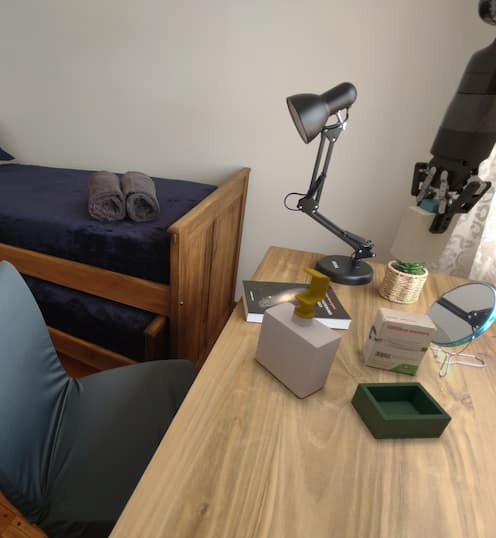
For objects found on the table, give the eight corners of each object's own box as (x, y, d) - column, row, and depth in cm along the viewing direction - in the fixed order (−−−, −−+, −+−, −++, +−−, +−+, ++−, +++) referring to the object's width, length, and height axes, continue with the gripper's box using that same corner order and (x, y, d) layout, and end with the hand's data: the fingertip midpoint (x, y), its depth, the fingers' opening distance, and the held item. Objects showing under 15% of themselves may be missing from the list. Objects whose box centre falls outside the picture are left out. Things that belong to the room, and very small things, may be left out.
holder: (409, 400, 65) (419, 381, 62) (439, 437, 58) (452, 418, 56) (350, 401, 65) (358, 383, 62) (375, 438, 58) (385, 419, 56)
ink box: (407, 359, 73) (430, 313, 68) (415, 376, 69) (440, 329, 63) (360, 350, 76) (378, 305, 70) (364, 366, 72) (384, 320, 66)
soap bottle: (253, 358, 74) (273, 259, 63) (276, 348, 77) (299, 251, 65) (300, 401, 65) (334, 294, 53) (325, 387, 67) (363, 282, 56)
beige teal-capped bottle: (389, 253, 69) (410, 198, 63) (423, 252, 69) (447, 197, 63) (402, 263, 65) (426, 205, 60) (438, 262, 65) (465, 205, 60)
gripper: (539, 133, 49) (480, 245, 58) (459, 119, 62) (420, 213, 70) (484, 133, 49) (433, 245, 58) (415, 119, 62) (381, 213, 70)
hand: (426, 227), depth 64 cm, fingers closed on beige teal-capped bottle, 4 cm apart
